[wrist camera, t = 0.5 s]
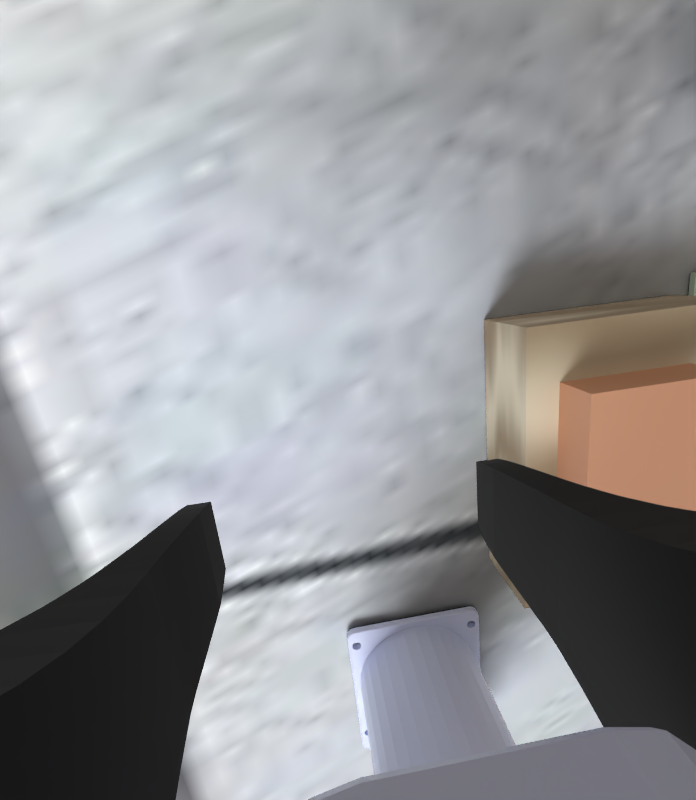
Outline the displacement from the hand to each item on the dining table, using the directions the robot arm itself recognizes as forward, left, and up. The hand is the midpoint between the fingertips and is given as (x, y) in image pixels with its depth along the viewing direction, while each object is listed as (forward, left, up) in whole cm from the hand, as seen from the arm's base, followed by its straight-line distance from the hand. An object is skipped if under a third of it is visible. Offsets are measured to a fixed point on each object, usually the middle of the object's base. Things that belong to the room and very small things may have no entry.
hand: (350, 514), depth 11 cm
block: (-4, -13, -6) cm, 15 cm away
